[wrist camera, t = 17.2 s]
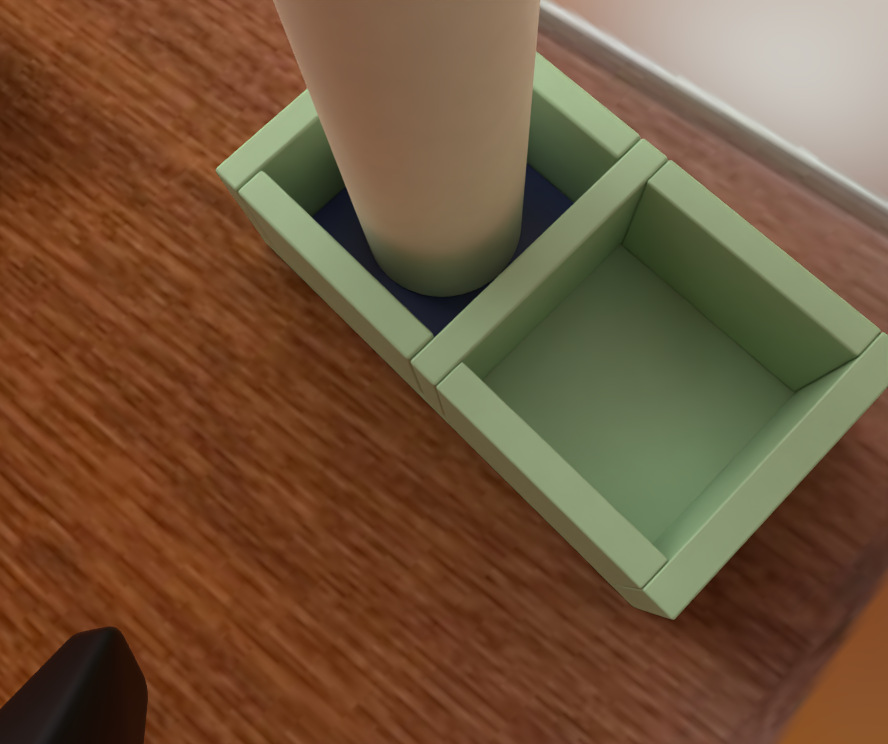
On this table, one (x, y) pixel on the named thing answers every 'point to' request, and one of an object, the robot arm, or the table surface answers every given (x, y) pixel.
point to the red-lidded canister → (425, 126)
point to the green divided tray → (598, 340)
